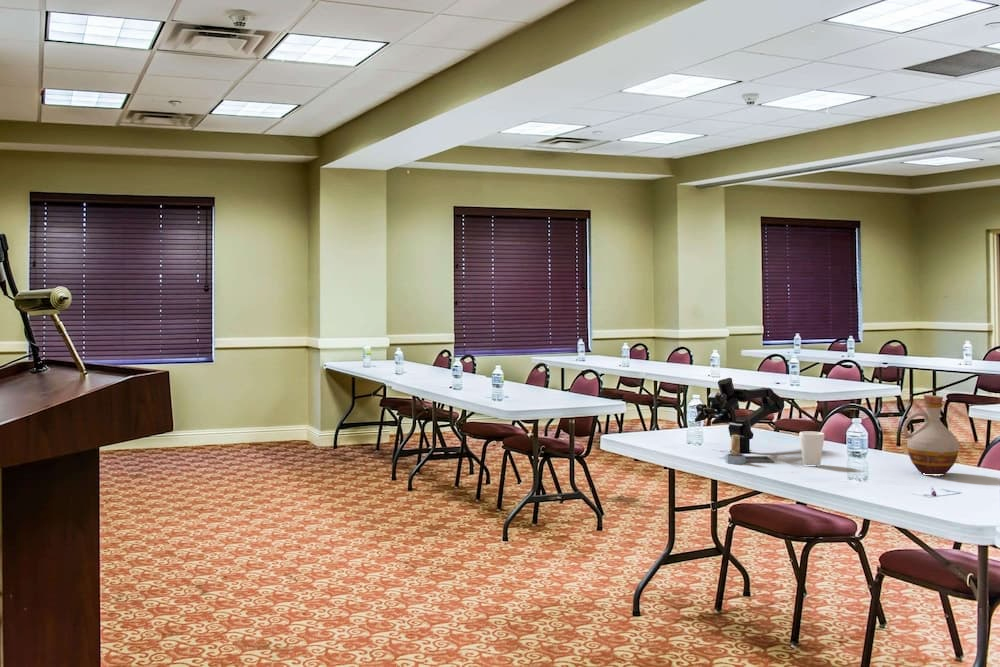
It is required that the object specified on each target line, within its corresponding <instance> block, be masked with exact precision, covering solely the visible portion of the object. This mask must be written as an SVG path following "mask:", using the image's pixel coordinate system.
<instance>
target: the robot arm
mask: <svg viewBox="0 0 1000 667" xmlns="http://www.w3.org/2000/svg"><path fill="white" fill-rule="evenodd" d="M717 386H718V389H719V392H717V391H711V392H710V393H709V395H708V396H707V400H708V401H709V402H710V407H711V408H710V407H708V405H707V404H703V403H698V404H696V405H695V409H696V413H697V414H696V416H695V419H694V422H695V423H698V422H702V421H706V420H707V419H709V417H710V415H713V416H714V419H713V420H712V421H711V424H712V425H720V424H729V425H728V433H729V436H730V438H731V435H740V454H751V453H752V451H751V450H750V445H751V443H750V440H752V439H753V438H754V433H753V431H752V427H753V426H754V425H756V424H758V423H759V422H761V421H762V420H763V419H765V418H766V417H768V416H770V415H773V414H777V413H781V412H783V410H784V408H785V402H784V401H783V399H782V398H781V396H779V395H778V394H777V393H776V392H774V390H773V389H772V388H770V387H760V388H752V389H751V388H750V389H746V388H734V387H735V386H734V384H733V378H732V377H727V378H723V379H720V380H718V381H717ZM752 399H760V400H761V401H760V402H761V404H762V405H761V406H759V407H758V409H755V410H754V411H752V412H751V413H749V414H748V415H746V416H745V417H742V416H736V412H735V411H739V410H740V404H739V403H747V402H750V400H752Z"/></svg>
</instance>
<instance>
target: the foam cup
mask: <svg viewBox="0 0 1000 667" xmlns="http://www.w3.org/2000/svg"><path fill="white" fill-rule="evenodd" d="M798 435H799V437H798V438H799V440H800V449H801V457H802V464H805V465H820V466H821V461H822V454H823V447H824V441H825V433H824V432H821V431H811V430H810V431H806V430H805V431H800V432H799V434H798Z"/></svg>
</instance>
